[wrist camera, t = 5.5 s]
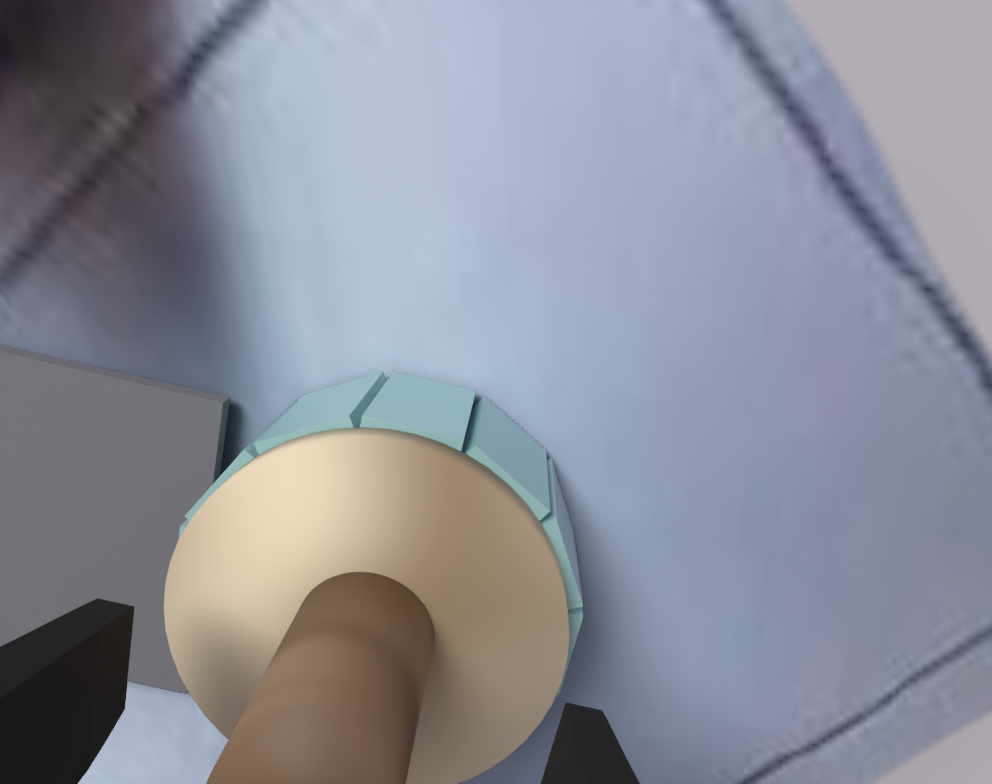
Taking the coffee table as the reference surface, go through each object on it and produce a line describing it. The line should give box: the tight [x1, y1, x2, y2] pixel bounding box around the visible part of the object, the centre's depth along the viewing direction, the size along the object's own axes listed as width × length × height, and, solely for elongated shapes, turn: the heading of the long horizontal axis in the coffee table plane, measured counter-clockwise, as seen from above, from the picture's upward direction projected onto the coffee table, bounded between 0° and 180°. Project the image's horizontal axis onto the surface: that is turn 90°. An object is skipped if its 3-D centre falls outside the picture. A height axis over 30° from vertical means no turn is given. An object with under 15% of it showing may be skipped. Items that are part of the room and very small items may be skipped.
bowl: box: [179, 371, 583, 706], centre depth 16 cm, size 8×8×3 cm
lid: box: [164, 427, 569, 784], centre depth 12 cm, size 8×8×5 cm
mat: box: [0, 345, 230, 694], centre depth 17 cm, size 8×8×1 cm
